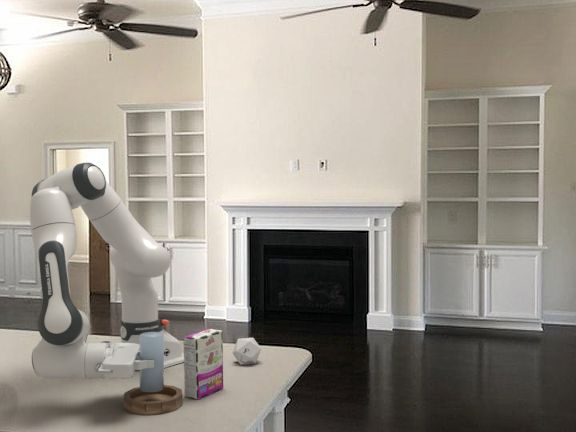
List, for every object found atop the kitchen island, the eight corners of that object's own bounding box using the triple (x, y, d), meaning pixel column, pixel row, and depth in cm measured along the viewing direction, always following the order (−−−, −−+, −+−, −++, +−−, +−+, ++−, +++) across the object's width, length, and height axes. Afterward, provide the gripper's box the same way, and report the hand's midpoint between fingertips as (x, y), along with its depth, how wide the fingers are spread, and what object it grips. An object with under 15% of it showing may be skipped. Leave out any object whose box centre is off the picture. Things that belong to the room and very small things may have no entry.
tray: (163, 391, 173) (163, 381, 172) (193, 405, 162) (193, 394, 161) (113, 403, 163) (113, 393, 162) (142, 419, 152) (142, 407, 152)
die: (227, 365, 201) (232, 345, 195) (237, 346, 207) (242, 327, 202) (250, 375, 200) (256, 356, 194) (260, 356, 206) (266, 337, 200)
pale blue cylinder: (156, 383, 166) (156, 330, 165) (168, 389, 161) (168, 334, 161) (135, 388, 162) (135, 334, 161) (147, 393, 157) (147, 338, 157)
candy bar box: (209, 385, 178) (209, 328, 177) (223, 388, 175) (223, 330, 174) (183, 396, 168) (182, 335, 167) (197, 400, 165) (197, 338, 165)
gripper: (92, 359, 149) (152, 358, 151) (106, 339, 170) (158, 338, 171) (92, 385, 150) (152, 384, 151) (106, 362, 170) (158, 361, 172)
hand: (155, 359), depth 161 cm, fingers closed on pale blue cylinder, 6 cm apart
